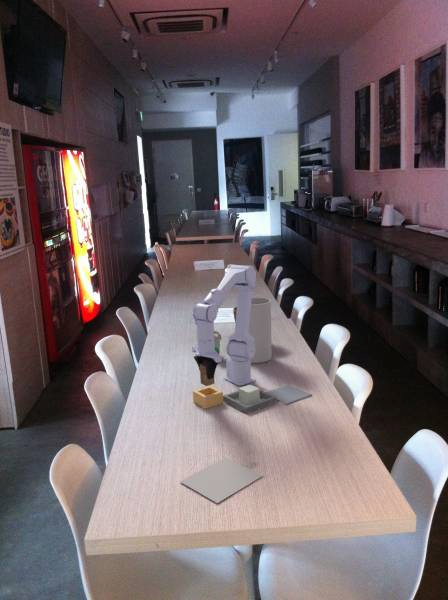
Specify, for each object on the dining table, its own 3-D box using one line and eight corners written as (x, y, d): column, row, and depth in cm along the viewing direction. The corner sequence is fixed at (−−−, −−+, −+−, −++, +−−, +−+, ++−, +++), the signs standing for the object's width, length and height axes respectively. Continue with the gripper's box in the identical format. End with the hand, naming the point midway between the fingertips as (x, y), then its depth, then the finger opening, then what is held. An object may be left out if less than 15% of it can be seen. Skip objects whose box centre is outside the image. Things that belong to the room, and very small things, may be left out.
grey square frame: (222, 401, 194) (222, 395, 194) (252, 391, 202) (251, 386, 201) (246, 413, 184) (246, 407, 184) (276, 402, 192) (276, 397, 191)
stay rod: (200, 383, 192) (199, 364, 191) (208, 380, 194) (208, 361, 193) (206, 386, 190) (205, 366, 188) (214, 383, 192) (213, 364, 190)
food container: (226, 358, 236) (225, 336, 234) (212, 361, 234) (211, 338, 232) (216, 350, 248) (215, 328, 245) (202, 352, 245) (201, 330, 243)
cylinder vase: (235, 358, 236) (234, 301, 230) (257, 351, 244) (256, 295, 238) (256, 366, 227) (254, 306, 221) (277, 358, 235) (277, 300, 229)
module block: (239, 401, 194) (238, 388, 192) (250, 398, 196) (250, 384, 195) (248, 406, 190) (248, 392, 189) (259, 402, 193) (259, 388, 191)
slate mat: (263, 394, 199) (263, 392, 199) (288, 385, 206) (288, 384, 206) (286, 404, 190) (286, 403, 190) (311, 395, 197) (311, 394, 197)
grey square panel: (157, 470, 152) (157, 468, 152) (222, 438, 169) (222, 436, 169) (217, 505, 136) (217, 503, 135) (283, 465, 153) (283, 463, 152)
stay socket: (193, 401, 195) (192, 391, 194) (210, 396, 199) (210, 385, 198) (205, 408, 189) (205, 397, 188) (223, 402, 193) (222, 391, 192)
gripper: (184, 336, 192) (185, 373, 195) (208, 346, 180) (210, 385, 184) (201, 332, 196) (202, 368, 199) (226, 341, 184) (227, 380, 188)
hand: (207, 376), depth 192 cm, fingers closed on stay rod, 3 cm apart
